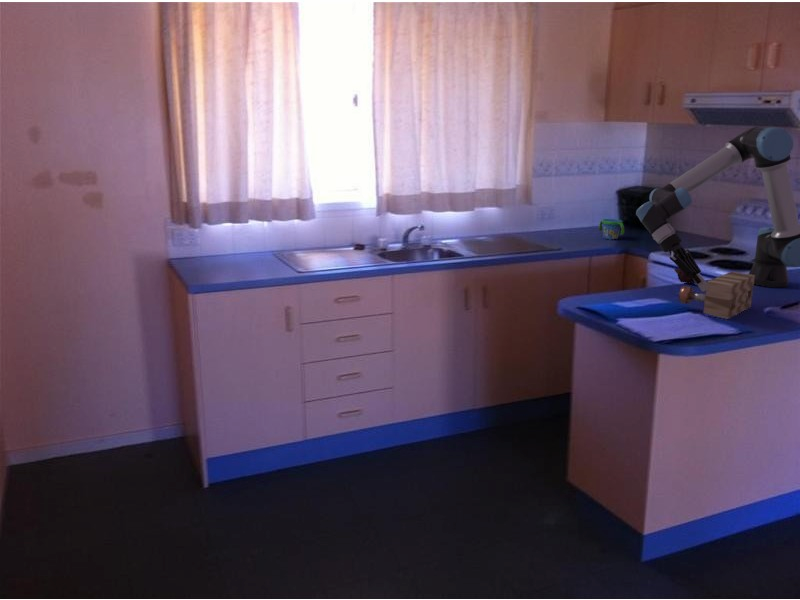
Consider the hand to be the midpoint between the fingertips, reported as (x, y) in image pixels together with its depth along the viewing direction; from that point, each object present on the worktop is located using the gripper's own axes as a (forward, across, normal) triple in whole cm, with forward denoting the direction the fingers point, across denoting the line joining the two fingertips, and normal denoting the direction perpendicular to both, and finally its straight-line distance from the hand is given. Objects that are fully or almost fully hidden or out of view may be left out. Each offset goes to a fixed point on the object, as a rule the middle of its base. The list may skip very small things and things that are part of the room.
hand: (706, 289), depth 261 cm
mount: (+11, +7, +4) cm, 14 cm away
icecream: (-9, -25, -16) cm, 31 cm away
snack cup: (-58, -95, -66) cm, 130 cm away
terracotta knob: (+3, +14, -1) cm, 14 cm away
